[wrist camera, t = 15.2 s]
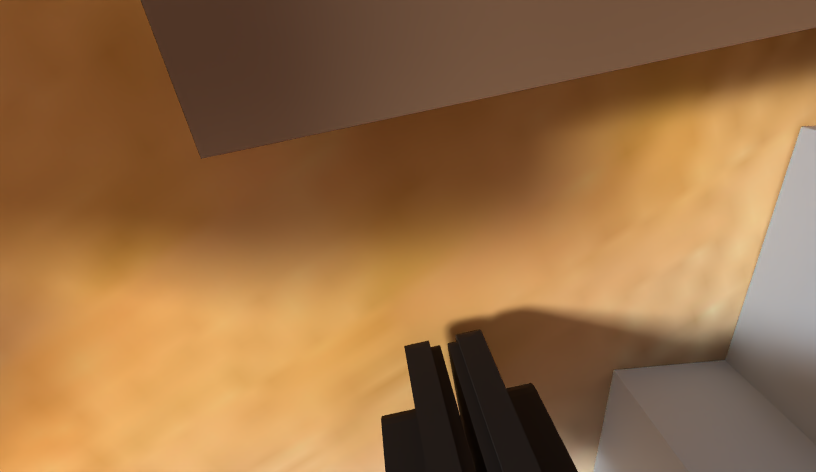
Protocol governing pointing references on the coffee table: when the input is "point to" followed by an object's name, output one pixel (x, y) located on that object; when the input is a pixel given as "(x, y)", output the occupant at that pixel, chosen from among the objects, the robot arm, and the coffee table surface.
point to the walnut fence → (416, 54)
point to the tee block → (737, 367)
